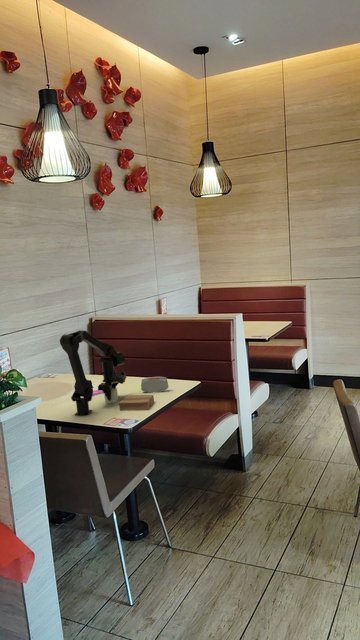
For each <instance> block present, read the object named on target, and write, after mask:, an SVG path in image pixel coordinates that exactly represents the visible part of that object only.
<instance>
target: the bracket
mask: <svg viewBox="0 0 360 640" xmlns="http://www.w3.org/2000/svg"><path fill="white" fill-rule="evenodd" d="M103 394H104V393H103V391H102V390H98V389H93V394H92V397H94V396H98V395H103Z"/></svg>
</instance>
